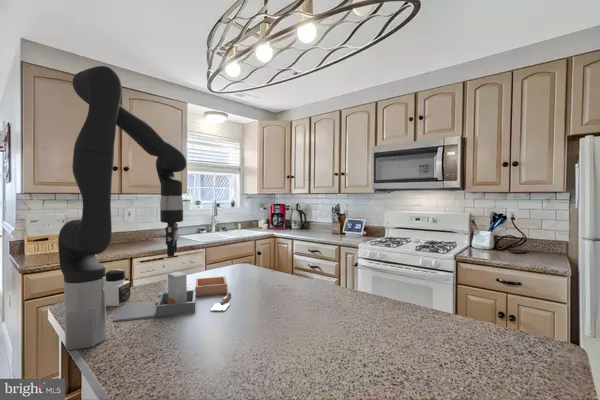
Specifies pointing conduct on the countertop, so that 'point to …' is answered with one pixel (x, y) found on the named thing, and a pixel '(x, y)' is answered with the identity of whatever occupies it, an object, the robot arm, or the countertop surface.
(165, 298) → the bin
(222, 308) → the hand shovel
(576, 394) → the countertop surface
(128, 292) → the medicine bottle
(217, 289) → the bin
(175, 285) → the skincare box
